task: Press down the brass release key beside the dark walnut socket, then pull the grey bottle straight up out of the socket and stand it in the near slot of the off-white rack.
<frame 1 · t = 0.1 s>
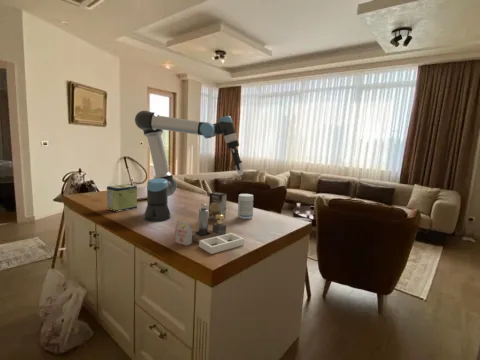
hand: (241, 174, 168), 28 cm above the table, tool tilted 20°, fingers open, 13 cm apart
coffee box: (217, 219, 166), on the table
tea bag: (183, 243, 125), on the table
protein box: (122, 209, 178), on the table
rack: (213, 247, 120), on the table
grey bottle: (202, 237, 133), resting in socket
supplement tub: (245, 217, 172), on the table
release key: (219, 221, 138), point 7 cm above the table, slide at 0.0 cm
socket: (202, 237, 133), on the table
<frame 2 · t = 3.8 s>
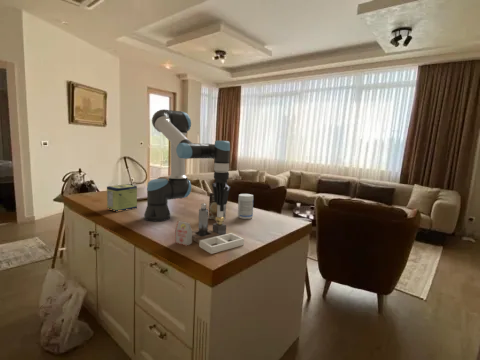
hand: (220, 216, 138), 9 cm above the table, tool pointing down, fingers closed
release key: (219, 223, 139), point 6 cm above the table, slide at 1.2 cm, touching gripper
everything else where it was.
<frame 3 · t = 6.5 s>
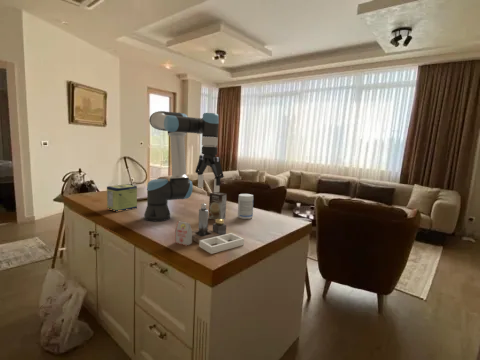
hand: (208, 189, 131), 24 cm above the table, tool pointing down, fingers open, 13 cm apart
release key: (219, 225, 139), point 4 cm above the table, slide at 2.5 cm
everything else where it was.
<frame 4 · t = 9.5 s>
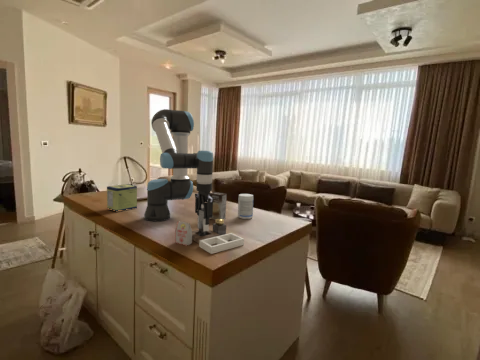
hand: (203, 229, 132), 4 cm above the table, tool pointing down, fingers closed on grey bottle, 4 cm apart
grey bottle: (202, 237, 133), resting in socket, touching gripper
everything else where it was.
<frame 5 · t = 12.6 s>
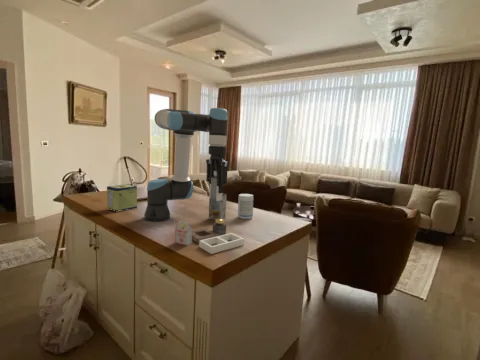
hand: (215, 199, 117), 22 cm above the table, tool pointing down, fingers closed on grey bottle, 4 cm apart
grey bottle: (215, 208, 118), point 18 cm above the table, touching gripper
everything else where it was.
when the fingers open (5 cm above the table, at t = 16.0 s): grey bottle stays where it is, resting in rack.
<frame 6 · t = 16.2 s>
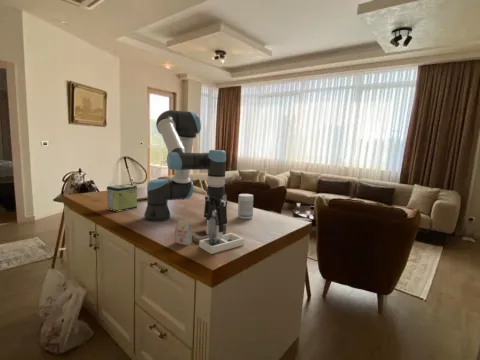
hand: (214, 236, 120), 6 cm above the table, tool pointing down, fingers open, 7 cm apart
grey bottle: (214, 247, 120), resting in rack
everything else where it was.
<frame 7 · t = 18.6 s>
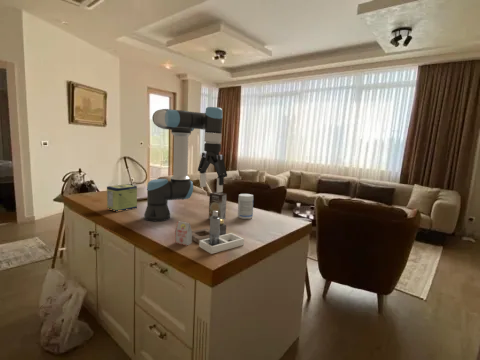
hand: (210, 189, 123), 25 cm above the table, tool pointing down, fingers open, 13 cm apart
nothing on the table moved.
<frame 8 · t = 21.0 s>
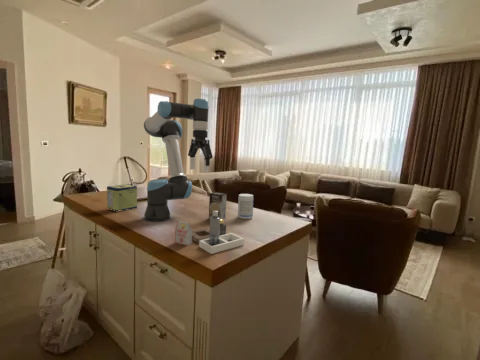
hand: (199, 170, 141), 32 cm above the table, tool pointing down, fingers open, 13 cm apart
nothing on the table moved.
at the end: release key slide at 2.5 cm; grey bottle 0.0 cm off-centre on the rack, point 0.0 cm above the rack's base; grey bottle tilted 0° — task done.
